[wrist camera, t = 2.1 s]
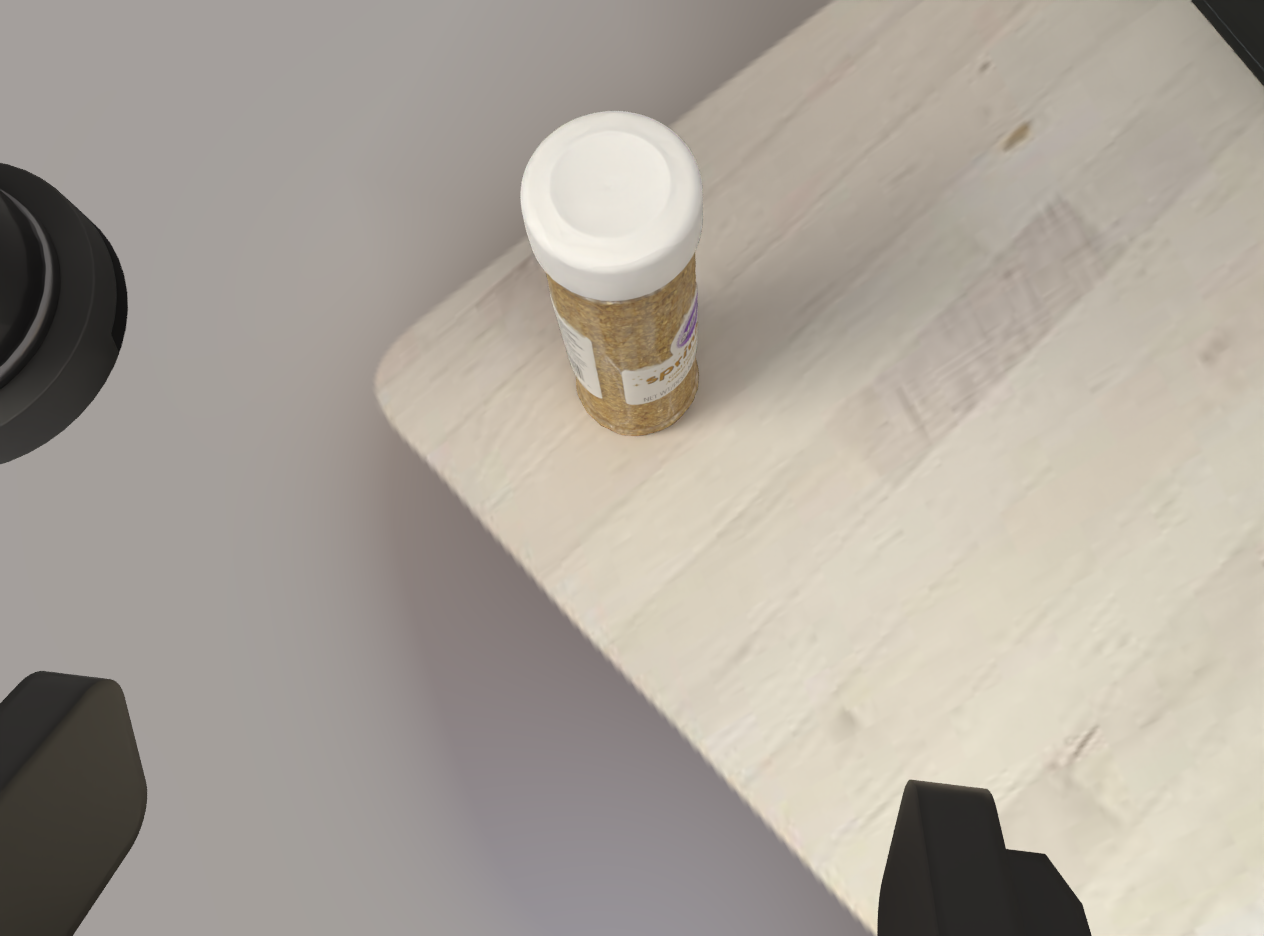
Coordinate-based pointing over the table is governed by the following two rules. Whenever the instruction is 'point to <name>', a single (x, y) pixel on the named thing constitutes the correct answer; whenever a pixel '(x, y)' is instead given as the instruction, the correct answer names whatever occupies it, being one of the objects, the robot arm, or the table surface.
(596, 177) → the spice jar
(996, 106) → the table surface
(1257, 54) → the bin
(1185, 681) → the table surface
